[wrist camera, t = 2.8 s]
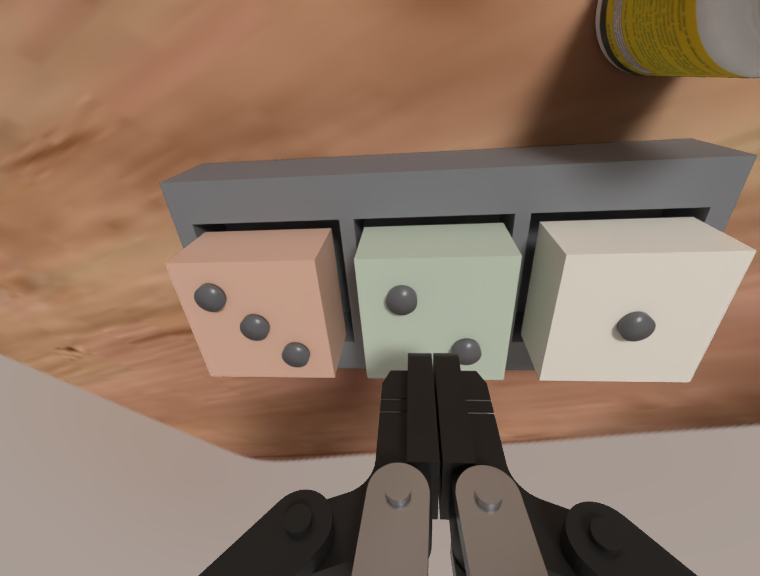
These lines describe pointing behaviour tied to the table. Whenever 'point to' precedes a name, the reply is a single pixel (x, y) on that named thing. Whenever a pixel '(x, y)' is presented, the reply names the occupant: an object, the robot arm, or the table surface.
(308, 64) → the table surface
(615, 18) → the supplement bottle
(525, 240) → the well board
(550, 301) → the tile one
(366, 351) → the tile two
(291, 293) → the tile three
